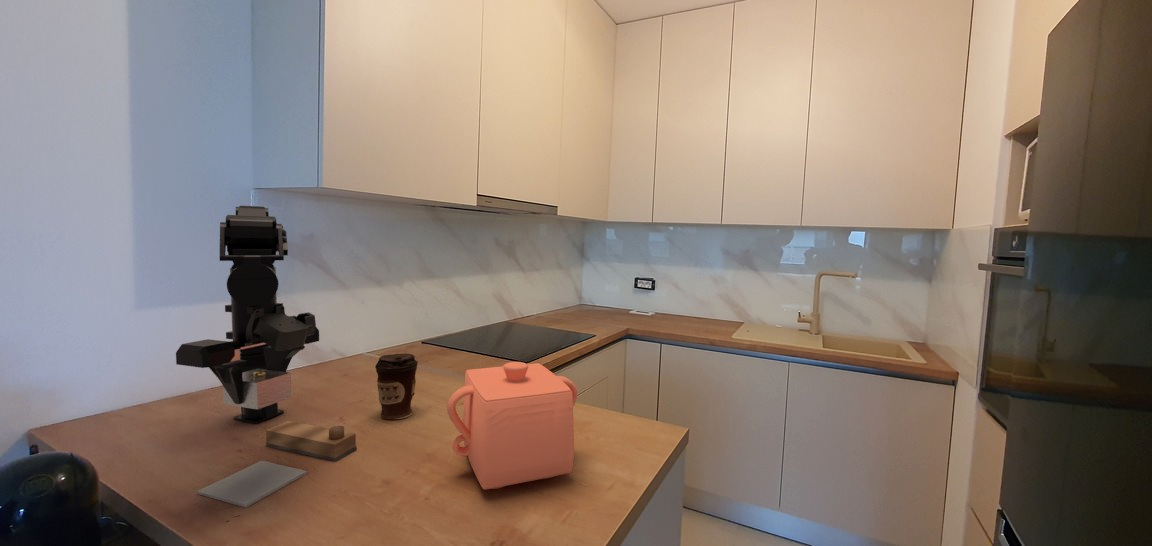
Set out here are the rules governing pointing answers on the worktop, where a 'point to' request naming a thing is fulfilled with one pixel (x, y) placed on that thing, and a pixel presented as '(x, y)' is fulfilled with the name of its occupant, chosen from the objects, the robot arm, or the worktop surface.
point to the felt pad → (252, 483)
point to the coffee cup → (396, 384)
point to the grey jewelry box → (262, 388)
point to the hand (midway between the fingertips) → (257, 397)
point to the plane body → (312, 440)
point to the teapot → (515, 423)
